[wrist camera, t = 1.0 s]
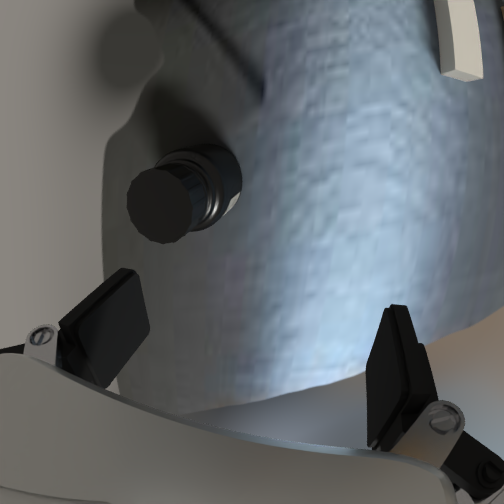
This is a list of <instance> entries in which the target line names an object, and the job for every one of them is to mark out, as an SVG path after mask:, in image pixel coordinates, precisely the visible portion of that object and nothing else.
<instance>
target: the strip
mask: <svg viewBox="0 0 504 504" xmlns="http://www.w3.org/2000/svg"><path fill="white" fill-rule="evenodd" d="M433 1H434V7H435V13H436V21H437V29H438V38H439V50H440V66H441V75H444V76H448V77H452V78H455V79H459V80H462V81H466V82H468V81H473V80H477V79H482V78H483V67H482V54H481V45H480V37H479V29H478V23H477V17H476V11H475V6H474V1H473V0H433Z"/></svg>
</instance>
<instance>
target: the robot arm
mask: <svg viewBox="0 0 504 504" xmlns="http://www.w3.org/2000/svg"><path fill="white" fill-rule="evenodd" d="M58 323H59V326H60V328H61V329H60V330H59V331H58V330H57V328H56V327H55V326H53V325H49V324H48V325H41V326H38V327H36V328H34V329H33V330H32V331H31V332H30V333H29V334H28V336H27V339H26V342H25V344H21V345H17V346H12V347H8V348H3V349H0V504H504V461H503V460H502V459H501V458H500V457H499V456H498V455H496V454H495V453H494V452H492V451H491V450H490V449H488V448H487V447H485V446H484V445H483V444H481V443H480V442H479V441H477V440H476V439H474V438H473V437H472V436H470V435H469V434H468V433H466V432H465V431H464V430H463V429H464V426H465V418H464V415H463V412H462V411H461V410H460V408H459V407H458V406H456V405H455V404H453V403H451V402H449V401H444V400H440V401H439V400H438V396H437V391H436V387H435V383H434V379H433V375H432V371H431V368H430V364H429V360H428V357H427V353H426V350H425V347H424V345H423V344H422V343H418V340H417V337H416V333H415V330H414V327H413V324H412V320H411V317H410V314H409V311H408V308H407V306H406V305H395V304H391V305H390V307H389V308H385V309H384V312H383V315H382V318H381V322H380V325H379V328H378V331H377V334H376V337H375V340H374V344H373V346H372V349H371V352H370V355H369V358H368V361H367V364H366V390H367V446H368V447H372V450H364V449H354V448H343V447H331V446H322V445H314V444H306V443H298V442H292V441H285V440H278V439H272V438H266V437H261V436H255V435H251V434H246V433H241V432H236V431H232V430H228V429H224V428H219V427H216V426H212V425H208V424H204V423H200V422H197V421H193V420H190V419H186V418H183V417H180V416H177V415H173V414H170V413H167V412H164V411H161V410H158V409H155V408H152V407H149V406H147V405H144V404H141V403H138V402H136V401H133V400H130V399H128V398H125V397H123V396H120V395H118V394H115V393H113V392H110V391H108V390H105V388H107V387H108V386H109V385H110V384H111V382H112V381H113V380H114V378H115V377H116V376H117V374H118V373H119V372H120V371H121V369H122V368H123V367H124V365H125V364H126V363H127V361H128V360H129V359H130V357H131V356H132V355H133V354H134V352H135V351H136V350H137V348H138V347H139V346H140V344H141V343H142V342H143V341H144V339H145V338H146V337H147V335H148V334H149V331H150V325H149V320H148V316H147V312H146V307H145V302H144V298H143V293H142V288H141V283H140V278H139V275H138V274H137V273H136V271H135V270H132V269H126V268H121V269H119V270H118V271H117V272H115V273H114V274H113V275H112V276H111V277H109V278H108V279H107V280H106V281H105V282H103V283H102V284H101V285H100V286H99V287H98V288H96V289H95V290H94V291H93V292H92V293H91V294H89V295H88V296H87V297H86V298H85V299H84V300H83V301H81V302H80V303H79V304H78V305H77V306H76V307H74V309H72V310H71V311H70V312H69V313H68V314H67V315H66V316H64V317H63V318H62V319H61V320H60V321H59V322H58Z"/></svg>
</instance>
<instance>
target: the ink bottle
mask: <svg viewBox="0 0 504 504" xmlns="http://www.w3.org/2000/svg"><path fill="white" fill-rule="evenodd" d="M241 190H242V174H241V170H240V167H239V165H238V163H237V161H236V159H235V158H234V157H233V155H232V154H231V153H230V152H229V151H227V150H226V149H224V148H222V147H220V146H217V145H213V144H199V145H195V146H190V147H186V148H182V149H178V150H175V151H172V152H170V153H168V154H166V155H165V156H163V157H162V158H161V159H160V160H159V161H158V162H157V164H156V165H155V167H154V168H151V169H149V170H146V171H143V172H141V173H140V174H139V175H138V176H137V177H136V178H135V179H134V180H132V182H131V185H130V188H129V190H128V192H127V210H128V212H129V216H130V220H131V222H132V223H133V224H134V226H135V227H136V228H137V230H138V232H139V233H140V234H142V235H144V236H145V237H146V238H148V239H149V240H150V241H154V242H158V243H161V244H165V243H171V242H173V243H174V242H176V241H178V240H179V239H180V238H181V237H183V236H185V235H186V234H187V233H188V232H194V231H200V230H204V229H206V228H208V227H210V226H212V225H213V224H215V223H216V222H217V221H218V220H219V219H220V218H221V217H222V216H223V215H224V214H226V213H227V212H228V211H229V210H230V209H231V208H232V207H233V206H234V205H235V203H236V202H237V200H238V199H239V197H240V194H241Z"/></svg>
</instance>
